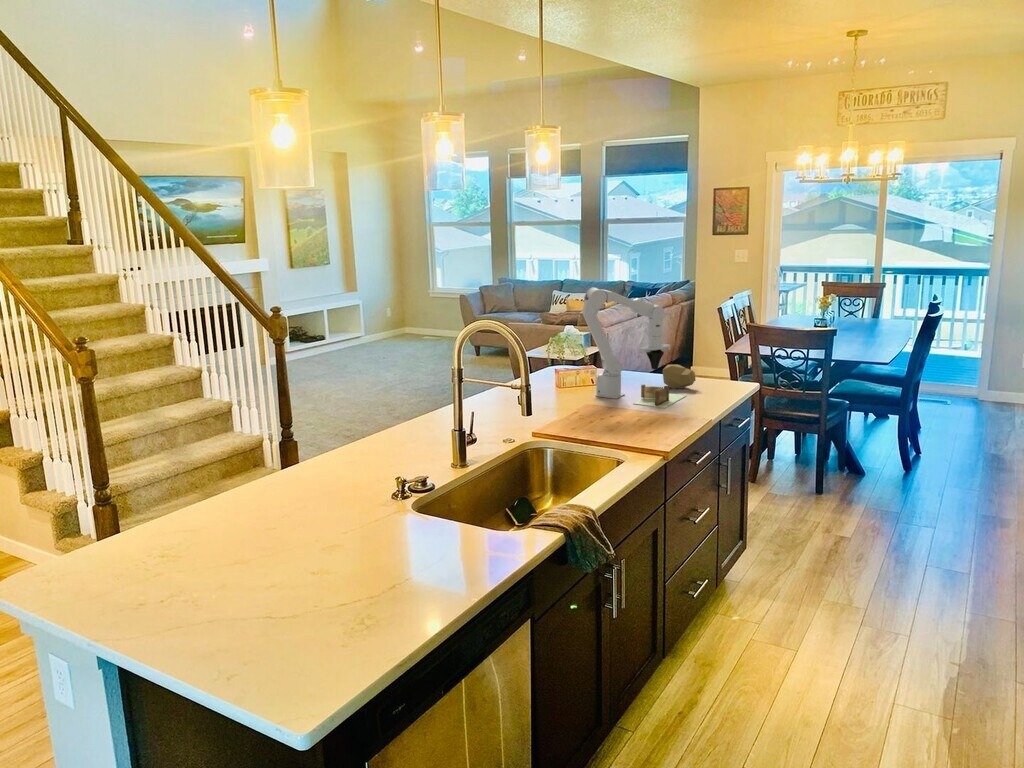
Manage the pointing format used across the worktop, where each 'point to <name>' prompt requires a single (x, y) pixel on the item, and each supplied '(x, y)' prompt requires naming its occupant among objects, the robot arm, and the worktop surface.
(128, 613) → the worktop surface
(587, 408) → the worktop surface
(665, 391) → the fixed fence
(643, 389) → the hinged panel
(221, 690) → the worktop surface
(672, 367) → the low-poly potato
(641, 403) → the board
